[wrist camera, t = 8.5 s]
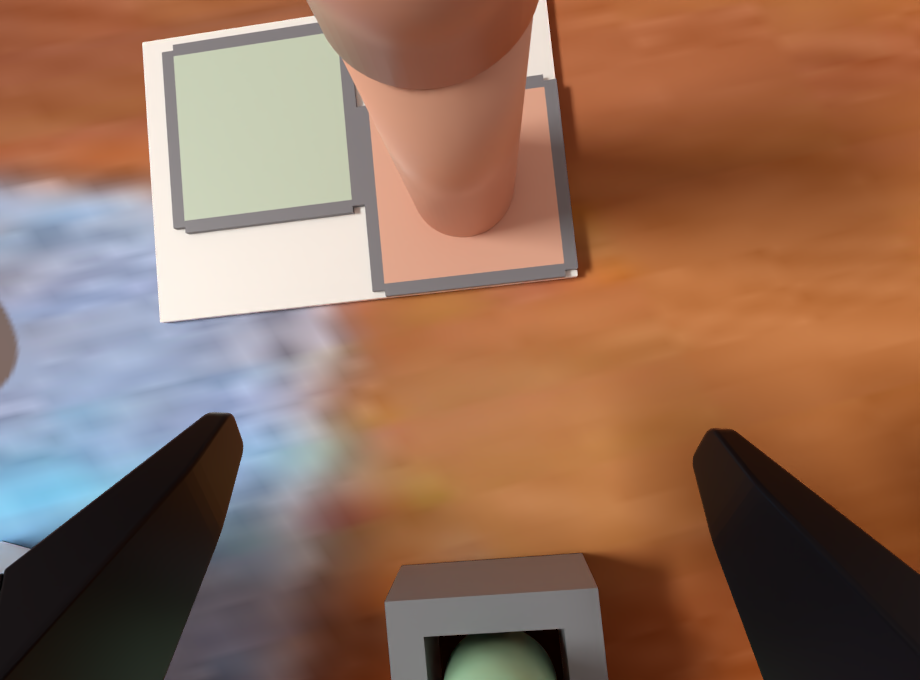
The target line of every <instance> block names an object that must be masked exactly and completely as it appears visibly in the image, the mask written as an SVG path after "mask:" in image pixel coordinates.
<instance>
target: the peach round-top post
mask: <svg viewBox="0 0 920 680" xmlns="http://www.w3.org/2000/svg"><path fill="white" fill-rule="evenodd" d="M307 2H308V4H309V6H310V8H311V10H312V12H313V14H314V16H315V18H316V20H317V22H318V24H319V26H320V28H321V30H322V32H323V33H324V35H325V37H326V39H327V40H328V42H329V43H330V45H331V46H332V48H333V49H334V50H335V51H336V52H337V54H338V55H339V56H340V57H341V58H342V60H343V62H344V64H345V66H346V68H347V70H348V72H349V74H350V76H351V78H352V80H353V82H354V84H355V86H356V88H357V90H358V92H359V94H360V96H361V98H362V100H363V102H364V104H365V106H366V108H367V110H368V112H369V114H370V116H371V118H372V120H373V122H374V124H375V126H376V128H377V130H378V132H379V134H380V136H381V138H382V140H383V142H384V144H385V146H386V148H387V150H388V152H389V154H390V156H391V158H392V160H393V162H394V164H395V166H396V168H397V170H398V172H399V174H400V176H401V178H402V180H403V182H404V184H405V186H406V188H407V190H408V192H409V194H410V196H411V198H412V200H413V202H414V204H415V206H416V208H417V210H418V212H419V214H420V216H421V217H422V218H423V220H424V221H425V222H426V223H427V224H428V225H429V226H431V227H432V228H433V229H435V230H437V231H438V232H440V233H443V234H445V235H449V236H453V237H471V236H475V235H478V234H481V233H484V232H486V231H487V230H489V229H491V228H492V227H494V226H495V225H496V224H497V223H498V222H499V221H500V220H501V219H502V218H503V217H504V215H505V214H506V212H507V211H508V209H509V207H510V205H511V202H512V199H513V194H514V186H515V177H516V168H517V159H518V150H519V141H520V132H521V123H522V114H523V105H524V96H525V87H526V77H527V68H528V59H529V50H530V41H531V32H532V23H533V15H534V13H535V11H536V8H537V5H538V2H539V0H307Z"/></svg>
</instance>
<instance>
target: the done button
mask: <svg viewBox="0 0 920 680" xmlns="http://www.w3.org/2000/svg"><path fill="white" fill-rule="evenodd" d="M444 680H557V677H556V672H555V669H554V666H553V663H552V661H551V659H550V657H549V656H548V654H547V652H546V651H545V650H544V648H543V647H542V646H541V645H540V644H539V643H538V642H537V641H536V640H535V639H533V638H532V637H531V636H529V635H528V634H526V633H524V632H522V631H515V632H498V633H481V634H469V635H467V636H466V637H465V638H463V639H462V640H461V641H460V642H459V643H458V644H457V645H456V647H455V648H454V650H453V651H452V653H451V655H450V657H449V659H448V662H447V664H446V669H445V674H444Z"/></svg>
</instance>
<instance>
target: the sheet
mask: <svg viewBox="0 0 920 680" xmlns="http://www.w3.org/2000/svg"><path fill="white" fill-rule="evenodd" d="M142 45H143V61H144V77H145V92H146V108H147V124H148V139H149V155H150V171H151V186H152V202H153V218H154V233H155V249H156V265H157V280H158V296H159V312H160V322H162V323H169V322H178V321H187V320H196V319H205V318H214V317H223V316H232V315H241V314H250V313H259V312H268V311H277V310H286V309H295V308H304V307H314V306H323V305H332V304H341V303H350V302H359V301H368V300H377V299H386V298H395V297H404V296H413V295H422V294H431V293H440V292H449V291H458V290H467V289H476V288H485V287H494V286H503V285H512V284H521V283H530V282H539V281H548V280H557V279H566V278H575V277H577V276H578V273H577V269H578V263H577V254H576V245H575V236H574V228H573V219H572V210H571V201H570V193H569V184H568V175H567V166H566V158H565V149H564V140H563V131H562V123H561V114H560V105H559V96H558V88H557V79H555V72H554V63H553V54H552V46H551V37H550V28H549V19H548V11H547V2H546V0H539V2H538V5H537V8H536V11H535V13H534V15H533V23H532V32H531V41H530V50H529V59H528V68H527V77H526V87H525V96H524V105H523V114H522V123H521V132H520V141H519V150H518V159H517V168H516V177H515V186H514V194H513V199H512V202H511V205H510V207H509V209H508V211H507V212H506V214H505V215H504V217H503V218H502V219H501V220H500V221H499V222H498V223H497V224H496V225H495V226H494V227H492V228H491V229H489V230H487V231H486V232H484V233H481V234H478V235H475V236H471V237H453V236H449V235H445V234H443V233H440V232H438V231H437V230H435V229H433V228H432V227H431V226H429V225H428V224H427V223H426V222H425V221H424V220H423V218H422V217H421V216H420V214H419V212H418V210H417V208H416V206H415V204H414V202H413V200H412V198H411V196H410V194H409V192H408V190H407V188H406V186H405V184H404V182H403V180H402V178H401V176H400V174H399V172H398V170H397V168H396V166H395V164H394V162H393V160H392V158H391V156H390V154H389V152H388V150H387V148H386V146H385V144H384V142H383V140H382V138H381V136H380V134H379V132H378V130H377V128H376V126H375V124H374V122H373V120H372V118H371V116H370V114H369V112H368V110H367V108H366V106H365V104H364V102H363V100H362V98H361V96H360V94H359V92H358V90H357V88H356V86H355V84H354V82H353V80H352V78H351V76H350V74H349V72H348V70H347V68H346V66H345V64H344V62H343V60H342V58H341V57H340V56H339V55H338V54H337V52H336V51H335V50H334V49H333V48H332V46H331V45H330V43H329V42H328V40H327V39H326V37H325V35H324V33H323V32H322V30H321V28H320V26H319V24H318V22H317V20H316V18H315V16H310V17H303V18H297V19H290V20H284V21H278V22H271V23H265V24H258V25H252V26H245V27H239V28H233V29H226V30H220V31H213V32H207V33H200V34H194V35H188V36H181V37H175V38H168V39H162V40H156V41H149V42H143V43H142Z"/></svg>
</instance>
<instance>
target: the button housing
mask: <svg viewBox="0 0 920 680" xmlns="http://www.w3.org/2000/svg"><path fill="white" fill-rule="evenodd" d="M385 613H386V625H387V636H388V647H389V659H390V670H391V680H442V669H441V658H440V648H439V637H438V636H447V635H464V634H481V633H498V632H515V631H532V630H549V629H558V631H559V640H560V649H561V659H562V668H563V677H564V680H608V673H607V664H606V655H605V646H604V638H603V629H602V620H601V611H600V602H599V593H598V587H597V585H596V583H595V580H594V578H593V576H592V574H591V572H590V569H589V567H588V565H587V563H586V561H585V558H584V556H583V554H582V553H575V554H561V555H546V556H532V557H518V558H503V559H489V560H475V561H461V562H446V563H432V564H418V565H403V566H401V567H400V570H399V572H398V574H397V576H396V578H395V580H394V582H393V585H392V587H391V589H390V591H389V593H388V595H387V597H386V600H385Z"/></svg>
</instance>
